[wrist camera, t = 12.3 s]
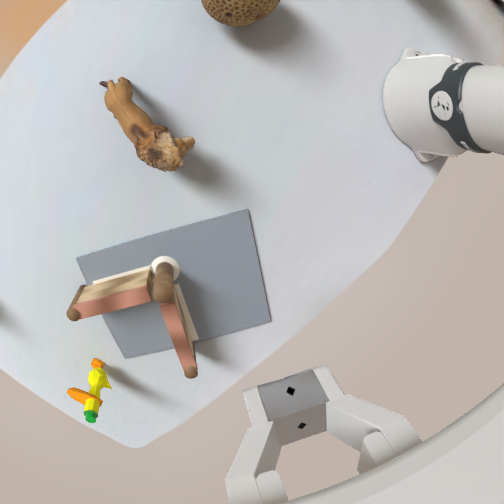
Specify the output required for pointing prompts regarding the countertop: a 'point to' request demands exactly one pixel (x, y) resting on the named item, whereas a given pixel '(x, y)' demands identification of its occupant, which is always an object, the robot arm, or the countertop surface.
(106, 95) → the lion figurine
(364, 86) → the countertop surface
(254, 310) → the board
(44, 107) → the countertop surface
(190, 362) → the fence panel
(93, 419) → the toy figure
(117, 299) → the fence section
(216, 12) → the natural sponge
